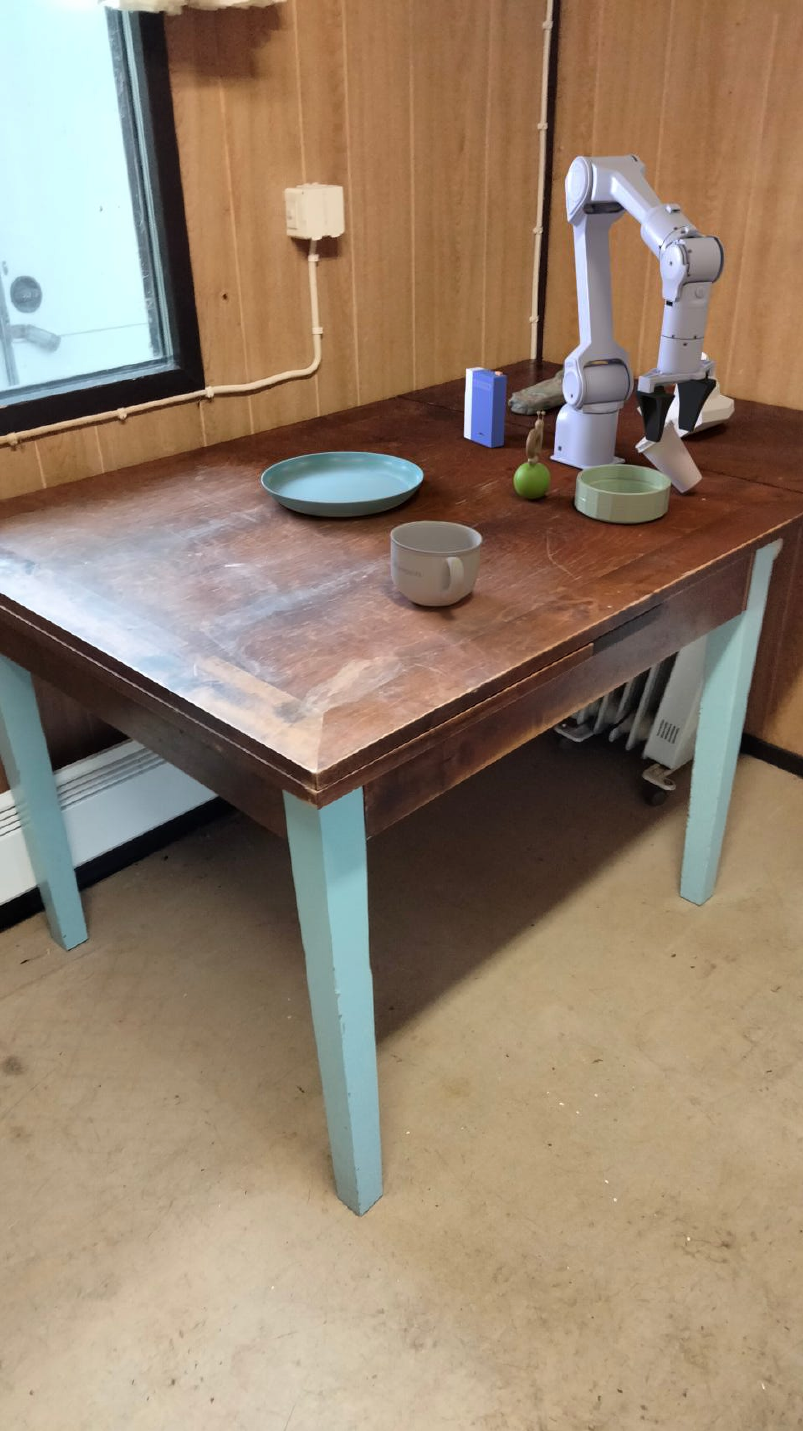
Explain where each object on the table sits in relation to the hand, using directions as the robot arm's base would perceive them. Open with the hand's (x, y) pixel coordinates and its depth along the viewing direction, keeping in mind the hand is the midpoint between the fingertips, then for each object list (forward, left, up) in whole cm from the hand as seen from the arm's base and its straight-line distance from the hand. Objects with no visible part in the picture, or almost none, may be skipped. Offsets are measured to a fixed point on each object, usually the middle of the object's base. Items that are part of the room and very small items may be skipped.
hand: (669, 435), depth 146 cm
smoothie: (0, +7, -9) cm, 11 cm away
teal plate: (-33, -33, -10) cm, 48 cm away
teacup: (+4, -47, -10) cm, 48 cm away
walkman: (-39, +2, -10) cm, 41 cm away
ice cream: (-19, +34, -10) cm, 40 cm away
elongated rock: (-50, +35, -10) cm, 62 cm away
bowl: (-2, -6, -10) cm, 12 cm away
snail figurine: (-14, -12, -10) cm, 22 cm away
